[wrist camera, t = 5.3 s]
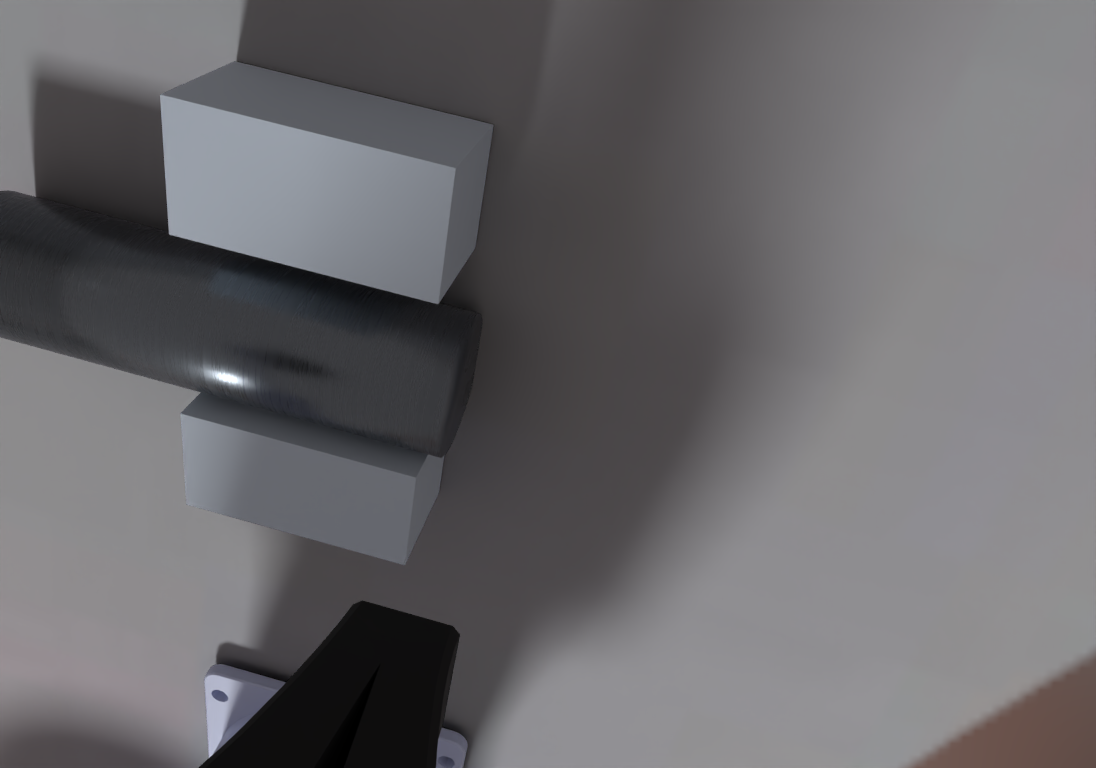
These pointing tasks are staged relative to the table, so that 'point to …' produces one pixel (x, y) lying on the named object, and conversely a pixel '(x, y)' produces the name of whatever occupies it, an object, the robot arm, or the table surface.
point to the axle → (235, 325)
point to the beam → (326, 248)
